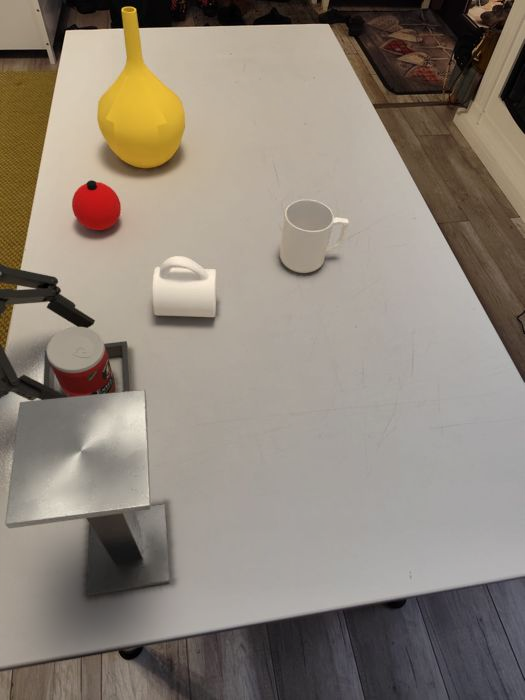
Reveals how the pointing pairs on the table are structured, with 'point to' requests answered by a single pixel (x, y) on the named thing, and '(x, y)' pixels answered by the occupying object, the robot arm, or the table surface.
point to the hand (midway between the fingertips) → (76, 361)
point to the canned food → (80, 362)
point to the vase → (140, 108)
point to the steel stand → (92, 483)
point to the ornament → (96, 205)
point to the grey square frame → (112, 351)
